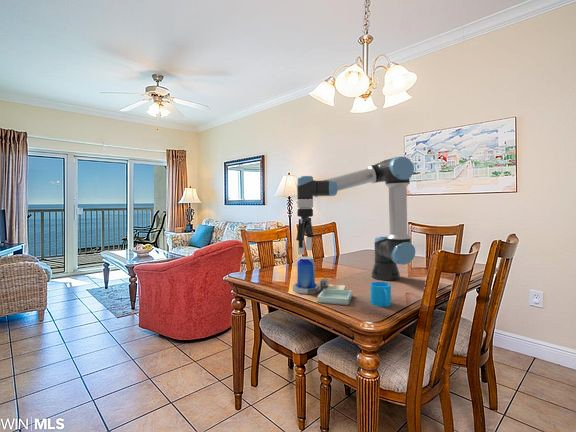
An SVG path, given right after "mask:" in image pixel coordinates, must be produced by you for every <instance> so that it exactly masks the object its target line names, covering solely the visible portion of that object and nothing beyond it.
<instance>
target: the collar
mask: <svg viewBox="0 0 576 432" xmlns="http://www.w3.org/2000/svg"><path fill="white" fill-rule="evenodd" d="M292 291H293V292H294V291H295V293H296V294H303V295H311V294H317V293H319V291H320V283H319V284H318V283H317V282H315V287H313V288H299V287H298V282H295V283H294V284H292Z"/></svg>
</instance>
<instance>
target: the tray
mask: <svg viewBox="0 0 576 432" xmlns="http://www.w3.org/2000/svg"><path fill="white" fill-rule="evenodd" d="M352 297H353V290H349V289H345V290H338V289H325V288H324V289H323V290H322V291H320V293H319V294H318V295H317V298H316V299H317V303H320V304H330V305H331V304H332V305H333V304H334V305H343V306H349V304H350V302H351V300H352Z"/></svg>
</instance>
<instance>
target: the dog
mask: <svg viewBox="0 0 576 432" xmlns="http://www.w3.org/2000/svg"><path fill="white" fill-rule="evenodd" d="M319 281H320V282H319V285H320V290H319V291H320V292H321V291H322V290H323V289H324V288H325V289H327V287H328V285H329V279H327V278H321V280H319Z"/></svg>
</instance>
